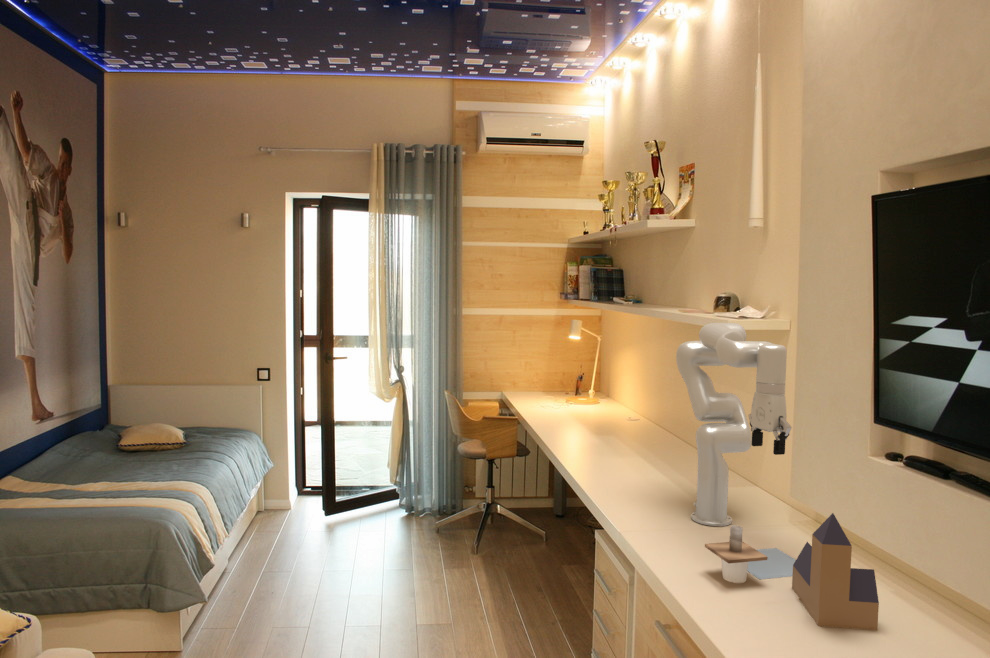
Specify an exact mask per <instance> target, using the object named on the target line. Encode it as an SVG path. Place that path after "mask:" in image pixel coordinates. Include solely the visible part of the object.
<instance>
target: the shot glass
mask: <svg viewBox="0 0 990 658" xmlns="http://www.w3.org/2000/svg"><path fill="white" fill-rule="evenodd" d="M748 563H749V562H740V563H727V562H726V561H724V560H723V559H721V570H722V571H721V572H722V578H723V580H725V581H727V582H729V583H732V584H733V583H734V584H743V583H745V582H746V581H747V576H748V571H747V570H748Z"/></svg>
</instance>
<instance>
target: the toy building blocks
mask: <svg viewBox="0 0 990 658" xmlns="http://www.w3.org/2000/svg"><path fill="white" fill-rule="evenodd" d="M852 548H853V545H852V544H851V542H850V541H849V538H848V537H847V535H846V533H845V532H844V530H843V528H842V526H841V525H840V523H839V521H838V519H837V518H836V515H835V514H834V512H832V513H831V514H830V515H829V516H828V517H827V518H826V519H825V520H824V521H823V523H822V524H820V526H819V527H818V528H817V529H816V530H815V531H814V532H813V533H812V537H811V544H810V543H809V542H808V541H806V543H805V544H804V546H803V548H802V549H801V550H800V552H799V554H798V556H797V558H795V559H796V561H795V563H794V564H793V575H792V576H791V577H792V578H791V588H792V590H793V591H794V593H795V594H796V596H797V597H798V600H799V601H800V602H801V604H802V605H803V607H804V608H805V610H806V611H807V613H808V614H809V615H810V617H811V619H812V620H813V621H814V622H815V624H816V625H817V627H827V628H839V629H840V628H841V629H856V630H857V629H858V630H872V631H878V626H879V625H878V624H879V608H880V607H879V604H880V602H879V594H878V587H877V581H876V580H877V579H876V575H875V574H876V573H875V569H869V568H853V567H852V552H853V550H852Z"/></svg>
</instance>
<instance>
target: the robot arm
mask: <svg viewBox="0 0 990 658" xmlns="http://www.w3.org/2000/svg"><path fill="white" fill-rule="evenodd" d="M698 339H699V340H689V341H684V342H683V343H681V344H679V345H678V347H677V350H676V352H675V353H676V355H675V361H676V367H677V369H678V371H679V374H680V376H681V378H682V380H683V382H684V384H685V386H686V389H687V393H688V397H689V400H690V401H689V402H690V403H691V408H692V412H693V414H694V417H695V419H696V420H698V421H700V422H703V423H704V424H701V425H700V426H699V427H698V428H697V429H696V431H695V442H696V450H697V479H696V480H697V481H696V482H697V483H696V501H694V502H693V503H692V504H693V506H694V507H695V511H693V512H691V514H690V519H691V520H692V521H694V522H695V523H698V524H701V525H705V526H710V527H726V526H729V525H731V524H732V522H733V518H732V517H731V516H730V515H729V514H728V498H729V497H728V495H729V475H730V474H729V468H730V467H729V465H728V462H727V460H726V459H725V458H724V456H723V454H728V453H729V454H730V453H731V454H733V453H735V454H737V453H745V452H747V451H749V450H750V449H751V447H762V446H763V444H764V443H763V442H764V441H763V440H764V432H763V431H765V432H768V433H772V434H773V437H774V438H775V439H774V440H773V452H772V453H773V455H780V456H781V455H785V454H786V441H787V440H788V437H789V436H790V433H791V430H792V426H791V424H790V423H789V422H788V421H787V402H786V380H787V379H786V377H787V375H786V373H787V372H786V371H787V359H788V358H787V357H788V356H787V355H788V350H787V348H786V346H785V345H783V344H777V343H776V344H775V343H773V342H769V341H762V340H761V341H759V340H758V341H756V340H755V341H754V340H750V341H749V340H748V341H747V331H746V329H745V328H744V326H742V324H739V323H736V322H710V323H707V324H704V325H703V326H702V327H701V328H700V330H699V332H698ZM726 365H727V366H729V367H733V368H743V369H744V368H755V369H756V377H755V379H756V380H755V391H754V393H753V397H752V402H751V410H750V413H749V414H748V418H747V415H746V412H745V408H744V405H743V403H742V401H741V399H740V398H739V397H738V395H736V394H734V393H732V392H717V391H716V390H715V387H714V384H713V383H714V382H713V380H712V379H711V377H710V376H709V374H708V373H707V372H706V371H705V370H703V369H702V368H701V367H703V366H704V367H716V366H717V367H720V366H721V367H722V366H726ZM748 420H749V421H748Z"/></svg>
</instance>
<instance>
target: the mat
mask: <svg viewBox="0 0 990 658" xmlns="http://www.w3.org/2000/svg"><path fill="white" fill-rule="evenodd" d="M756 550H757V551H759V552H761V553H762V554H764V555H765V556H767V557H768V559H767V560H762V561H751V562H749V563H748V570H747V573H749V574H751V575H752V576H753V577H755V578H756V579H758V580H768V579H769V580H770V579H781V578H791V577H792V575H793V564H794V563H795V561H796V559H797V558H794V557H793V556H790V555H789V554H787V553H785V552H784V551H782V550H780V549H779V548H777V547H770V548H758V549H756Z"/></svg>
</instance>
